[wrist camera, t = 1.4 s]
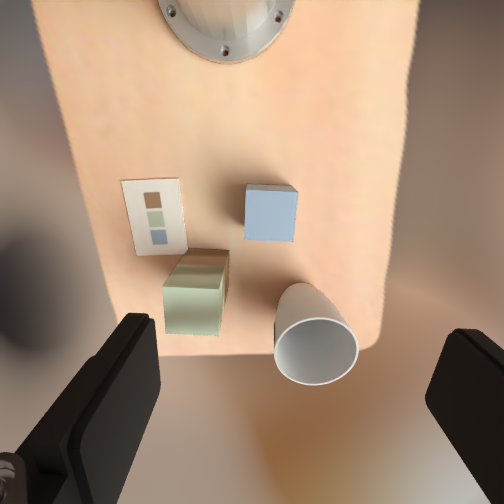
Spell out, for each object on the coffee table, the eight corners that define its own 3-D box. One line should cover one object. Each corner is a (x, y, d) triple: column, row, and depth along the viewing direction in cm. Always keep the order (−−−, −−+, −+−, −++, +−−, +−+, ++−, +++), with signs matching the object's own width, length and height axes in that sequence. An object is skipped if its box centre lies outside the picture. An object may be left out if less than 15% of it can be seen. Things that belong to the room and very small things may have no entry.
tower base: (188, 247, 33) (162, 286, 24) (229, 250, 33) (218, 289, 24) (189, 284, 35) (165, 333, 26) (228, 286, 35) (218, 336, 26)
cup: (258, 287, 35) (259, 338, 26) (316, 261, 34) (340, 304, 24) (285, 334, 38) (295, 395, 28) (341, 311, 36) (370, 367, 27)
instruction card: (121, 180, 30) (120, 181, 30) (178, 178, 30) (177, 178, 30) (137, 255, 34) (136, 256, 33) (188, 253, 33) (188, 254, 33)
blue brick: (247, 183, 31) (245, 189, 26) (291, 185, 31) (298, 192, 26) (245, 226, 32) (244, 239, 28) (287, 228, 32) (293, 241, 28)
